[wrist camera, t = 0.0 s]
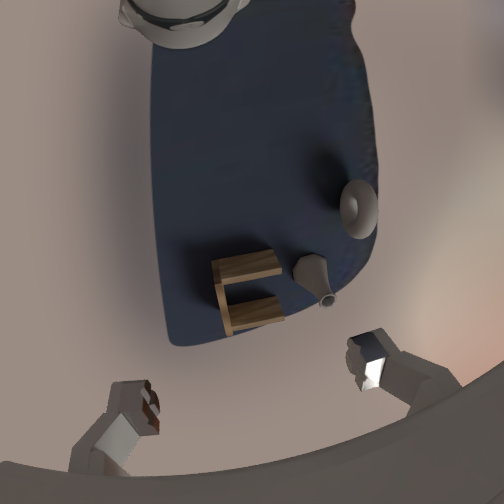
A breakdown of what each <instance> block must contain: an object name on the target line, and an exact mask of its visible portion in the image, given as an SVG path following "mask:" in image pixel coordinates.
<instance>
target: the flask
mask: <svg viewBox="0 0 504 504" xmlns="http://www.w3.org/2000/svg"><path fill="white" fill-rule="evenodd" d="M293 277H294V281H295V282H296V283H298V284H299V285H301V286H303V287H304V288H306V289H307V290H309V291H310V292H311V293H313V294H314V295H315V296H316V297H317V299H318V300H319V305H320V307H323V308H328V307H332V306H333V305H334V303H335V302H336V295H335V294H333V293H332V291H331V289H330V286H329V283H328V275H327V264H326V258H324V257H321V256H319V255H316V254H312V255H308V256H304V257H300V259H299V260H298V262H297V263H296V265H295V267H294V268H293Z"/></svg>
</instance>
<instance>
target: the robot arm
mask: <svg viewBox="0 0 504 504" xmlns="http://www.w3.org/2000/svg"><path fill="white" fill-rule="evenodd" d="M249 2H250V0H121V2H120V10H119V22H120V23H121V24H122V25H124V26H126V27H129V28H133V29H136V30H138V31H139V32H140V33H141V34H142V35H144V36H145V37H146V38H147V39H148V40H150V41H151V42H153V43H155V44H157V45H159V46H162V47H166V48H173V49H185V48H192V47H196V46H199V45H202V44H204V43H206V42H208V41H210V40H212V39H214V38H215V37H216V36H218V35H219V34H220V33H221V32H222V31H223V30H224V29H225V28H226V27H227V25H228V24H229V22H230V20H231V19H232V17H233V16H234V14H235V13H236V12H238V11H239V10H241V9H242V8H244V7H245V6H246V5H248V3H249ZM347 346H348V348H349V349H348V351H347V352H346V363H347V366H348V369H349V371H350V372H351V373H352V374H354V375H356V377H355V382H356V383H357V385H358V387H359V389H360V391H361V392H362V391H365V390H368V389H371V388H374V387H377V386H379V387H381V388H382V389H384V390H385V391H387V392H389V393H390V394H392V395H394V396H395V397H397V398H399V399H400V400H402V401H404V402H405V403H407V404H409V405H410V406H411V407H410V409H409V411H408V413H407V416H406V417H405V418H403V419H401V420H398V421H396V422H394V423H392V424H389V425H387V426H385V427H382V428H380V429H378V430H375V431H372V432H370V433H367V434H365V435H362V436H359V437H356V438H354V439H351V440H348V441H345V442H342V443H339V444H336V445H333V446H330V447H327V448H324V449H320V450H317V451H313V452H310V453H306V454H302V455H298V456H295V457H291V458H286V459H283V460H278V461H274V462H270V463H264V464H259V465H254V466H249V467H243V468H237V469H231V470H224V471H217V472H208V473H199V474H188V475H174V476H149V477H148V476H146V477H131V476H130V475H129V474H128V473H127V472H126V471H125V470H124V469H122V466H123V465H124V463H125V461H126V460H127V458H128V456H129V455H130V453H131V452H132V450H133V449H134V447H135V445H136V444H137V442H138V440H139V439H140V436H149V435H159V423H160V422H159V420H158V418H157V416H158V414H159V413H160V405H159V400H158V397H157V395H156V393H155V391H153V390H151V384H150V382H149V381H148V380H137V381H123V382H113V384H112V385H111V390H110V395H109V400H108V406H107V412H106V413H103V414H102V415H101V416H100V418H99V419H98V420H97V421H96V422H95V423H94V424H93V425H92V426H91V427H90V429H89V430H88V431H87V432H86V433H85V434H84V435H83V437H82V438H81V439H80V440H79V441H78V442H77V443H76V444H75V445H74V446H73V448H72V452H71V457H70V463H69V469H68V472H62V471H55V470H49V469H43V468H37V467H32V466H27V465H22V464H18V463H14V462H10V461H3V462H1V463H0V504H504V361H502V362H501V363H500V364H498V365H497V366H495V367H494V368H493V369H491V370H489V371H488V372H486V373H485V374H483V375H482V376H480V377H479V378H477V379H475V380H474V381H472V382H471V383H469V384H467V385H466V386H464V387H462V386H461V385H460V383H459V382H458V381H457V380H456V378H455V377H454V376H453V375H452V373H451V372H450V371H449V370H448V369H447V368H445V367H442V366H440V365H437V364H434V363H432V362H430V361H427V360H425V359H422V358H420V357H417V356H415V355H413V354H410V353H408V352H405V351H402V352H401V351H400V350H399V349H398V348H397V346H396V345H395V344H394V342H393V341H392V340H391V338H390V337H389V336H388V335H387V333H386V332H385V331H384V330H383V329H382V328H379V329H376V330H372V331H370V332H366V333H363V334H360V335H357V336H354V337H350V338H349V339H348V340H347Z"/></svg>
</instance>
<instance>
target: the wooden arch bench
mask: <svg viewBox="0 0 504 504" xmlns="http://www.w3.org/2000/svg"><path fill="white" fill-rule="evenodd" d="M211 263H212V271H213V278H214V285H215V289H216V294H217V298H218V302H219V306H220V311H221V315H222V319H223V323H224V327H225V331H226V335H227V336H231V335H233V332H232V331H237V330H242V329H247V328H252V327H256V326H261V325H266V324H271V323H274V322H280V321H284V314H283V312H282V309H281V306H280V304H279V301H278V299H277V296H274V297H269V298H264V299H259V300H255V301H250V302H245V303H240V304H235V305H229V306H227V301H226V297H225V292H224V287H223V285H226V284H231V283H236V282H242V281H247V280H252V279H257V278H262V277H267V276H272V275H277V274H281V273H282V268H281V265H280V263H279V261H278V259H277V257H276V255H275V253H274V251H273V249H270V250H265V251H259V252H254V253H249V254H244V255H239V256H233V257H228V258H223V259H218V260H212V261H211Z"/></svg>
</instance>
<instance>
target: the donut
mask: <svg viewBox="0 0 504 504" xmlns="http://www.w3.org/2000/svg"><path fill="white" fill-rule="evenodd" d="M340 216H341V222H342V224H343V227H344V229H345V231H346V232H347V233H348V234H349V235H350V236H351V237H353V238H356V239H363V238H365V237H367V236H368V235H370V234H371V232H372V231H373V230H374V228H375V225H376V223H377V218H378V202H377V197H376V194H375V192H374V190H373V188H372V187H371V186H370V185H369V183H367V182H366V181H364V180H361V179H355V180H352V181H350V182H349V183H348V184H347V185H346V186H345V187H344V189H343V191H342V194H341V198H340Z"/></svg>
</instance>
